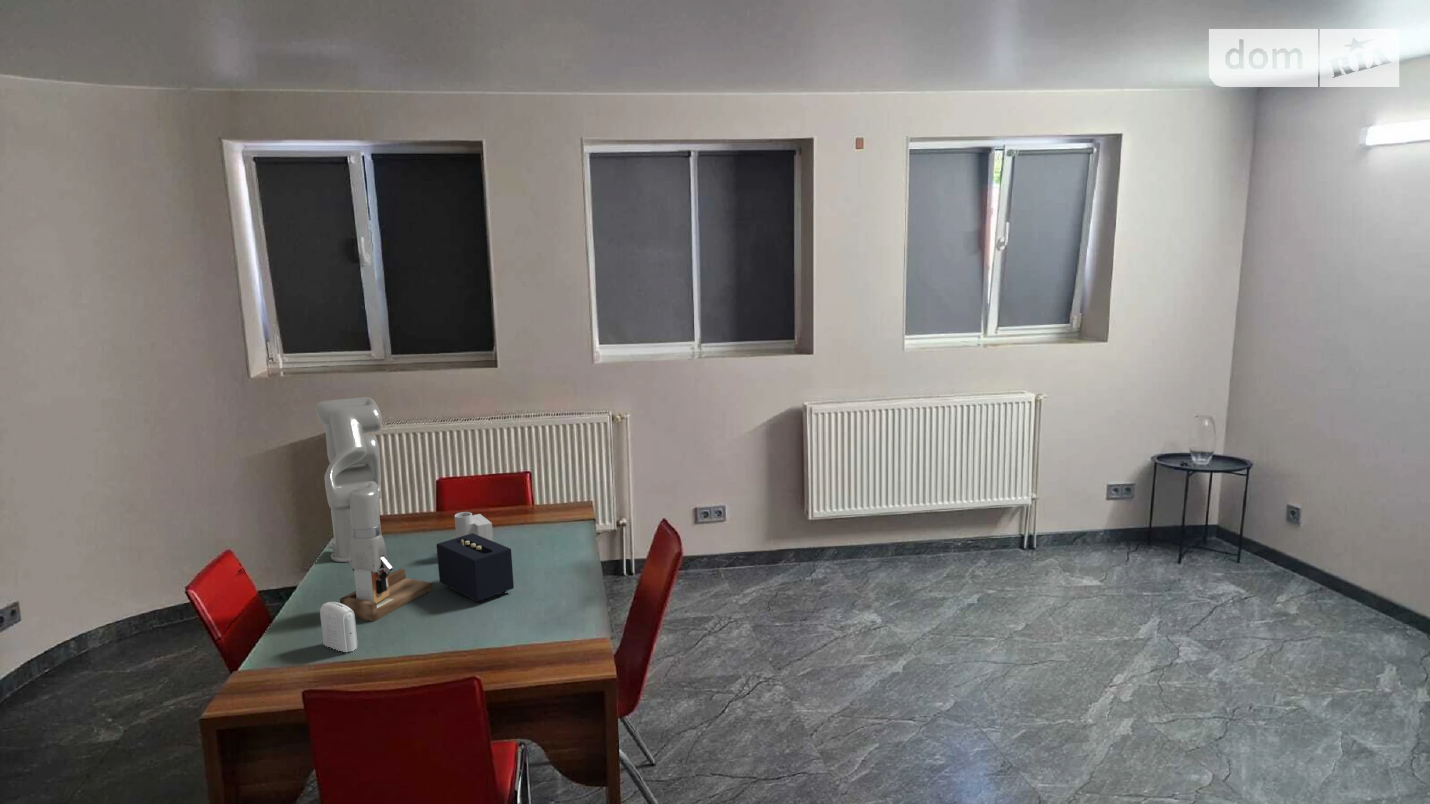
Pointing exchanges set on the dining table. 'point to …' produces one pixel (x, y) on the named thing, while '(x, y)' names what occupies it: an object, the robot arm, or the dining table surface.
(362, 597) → the small box
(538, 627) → the dining table surface
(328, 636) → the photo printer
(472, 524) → the white desk organizer
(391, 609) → the wooden tray
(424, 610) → the dining table surface
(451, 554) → the speaker
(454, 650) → the dining table surface
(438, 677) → the dining table surface
